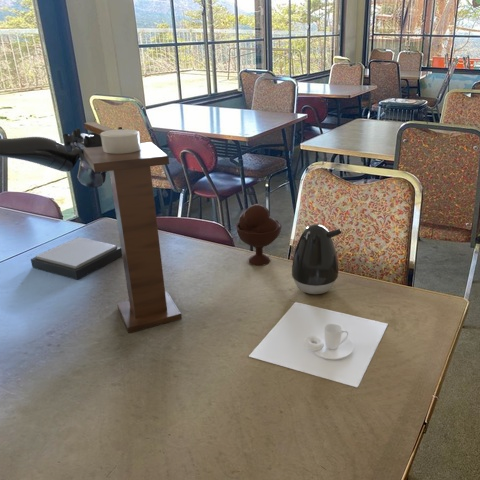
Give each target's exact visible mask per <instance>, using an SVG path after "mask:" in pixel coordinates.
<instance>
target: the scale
mask: <svg viewBox="0 0 480 480" xmlns="http://www.w3.org/2000/svg"><path fill="white" fill-rule="evenodd" d="M121 257H122V250H121V246H118V245H116V244H111V243H107V242H103V241H98V240H95V239H89V238H85V237H81V236H78V237H74V238H73V239H71V240H68V241H66V242H63V243H62V244H58V245H56V246H55V247H52V248H50V249H48V250H46V251H45V250H44V252H41V253H39V254H36V255H35V257H33V258H31V259H30V263H31V267H32V268H33V269H36V270H40V271H44V272H47V273H52V274H55V275H57V276H61V277H65V278H70V279H73V280H80V279H82V278H84V277H86V276H87V275H89V274H92V273H93V272H95V271H96V270H98V269H101V268H102V267H105V266H106V265H108V264H110V263H112V262H114V261H115V260H117V259H120V258H121Z"/></svg>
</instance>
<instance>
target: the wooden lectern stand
mask: <svg viewBox="0 0 480 480" xmlns="http://www.w3.org/2000/svg"><path fill="white" fill-rule="evenodd" d="M140 143H141V150H139V151H136V152H132V153H124V154H111V153H106V152H103V148H102V147H91V148H83V152H84V157H85V158H86V160H87V161H88V163H89V164H90V166H91V167H92V169H93V170H94V172H104V171H107V172H109V177H110V184H111V191H112V198H113V205H114V210H115V211H114V212H115V217H116V224H117V231H118V237H119V243H120V247H121V250H122V256H121V257H122V263H123V269H124V276H125V283H126V288H127V296H128V300H125V301H121V302H117V303H116V306H117V309H118V313H119V315H120V317H121V319H122V321H123V325H124V326H125V329H126V331H127V334H131V333H135V332H139V331H142V330H146V329H149V328H152V327H156V326H160V325H164V324H169V323H172V322H175V321H178V320H182V319H183V318H182V317H183V316H182V313H181V311H180V309H179V308H178V307H177V305H176V303H175V302H174V300H173V299H172V297H171V295H170V294H169V292H168V291H167V290H166V289H165V287H166V286H165V279H164V272H163V262H162V253H161V244H160V238H159V228H158V221H157V211H156V203H155V194H154V185H153V177H152V169H151V167H156V166H166V165H170V158H169V155H168V154H167V153H166V152H164V151H163V150H161V149H160V148H159V147H158V146H157V145H155V144H154V143H153V142H151V141H147V142H140Z"/></svg>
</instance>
